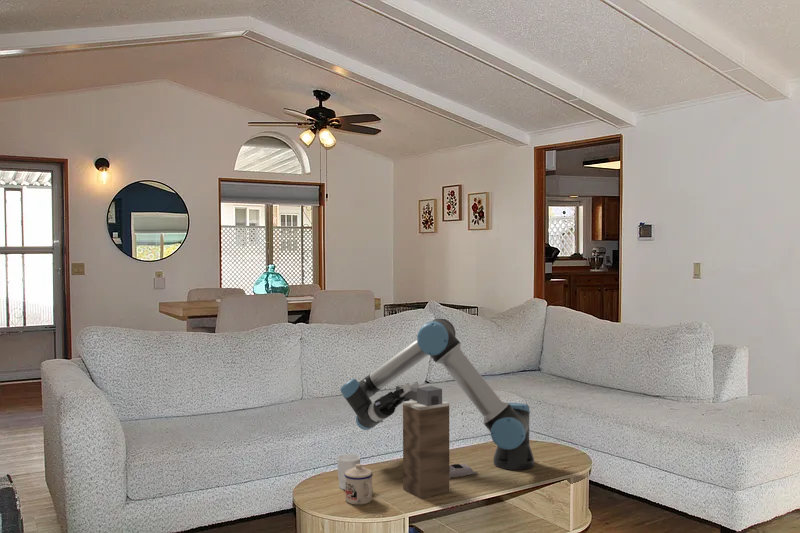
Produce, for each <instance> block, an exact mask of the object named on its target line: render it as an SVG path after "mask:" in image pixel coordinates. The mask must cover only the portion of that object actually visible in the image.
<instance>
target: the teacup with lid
mask: <svg viewBox="0 0 800 533" xmlns="http://www.w3.org/2000/svg"><path fill="white" fill-rule="evenodd" d="M373 475H374V474H373V472H372V470H371V469H370V468H365V467H364V466H362V464H361V463H360V464H356V465H355V467H354V468H352V469H349V470H347V471H346V472H345V490H344V491H345V492H344V493H345V496H344V498H345V501H346V502H347V503H348V504H350V505H357V506H358V505H365V504H369V503H370V502H371V501H372V500H373Z"/></svg>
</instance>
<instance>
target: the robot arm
mask: <svg viewBox="0 0 800 533" xmlns="http://www.w3.org/2000/svg"><path fill="white" fill-rule="evenodd" d="M456 333H457V332H456V329H455V326H454V325H453V323H452V322H450V320H447V319H445V318H436V319H434V320H433V319H432V320H431V321H428V322H426V323H424V324H423V325H422V326H421V327H420V329H419V330H418V331H417V336H416V339H415V340H414V341H413V342H411V343H410V344H408V345H407V346H406V347H405V348H403V349H402V350H400V351H399V352H397V353H396V354H395V355H394V356H392V357H391V358H389V359H388V360H387V361H386V362H384V363H383V364H382V365H380V366H379V367H378V368H376V369H375V370H374V371H372V372H370V374H368V375H367V376H365V377H364V378H363V379H361V380H359V381H358V380H357V379H356V378H352V379H350V380H349V381H347V382H346V383H344V385H342V386H341V387H340V393H341V394H342V396H343V398H344V399H345V400H346V402H347V404H349V406H350V407H351V409H352V411H353V412H354V413H355V415H356V417H355V423H356V425H357V427H358V428H360V429H361V430H363V431H369V430H370V429H373V428H375V427H376V426H377V425H378V424H380V423H383V422H384V420H386V419H387V418H389V417H390V416H391V415H393V414H395V411H396V409H397V407H398V406H399V405H401V404H403V402H405V401H411V400H412V399H409V398H406V397H403V396H404V395H405V394H407V393H408V392H410V391H411V388H415V389H417V388H421V387H420V384H419V381H415V382H414V383H413V384H411V385H410V382H408V383H405V384H403V385H404V386H403V387H401V388H400V389H399V390H396V389H395V390H394V391H389V392H388V393H386V394H385V395H382V396H380V397H378V398H377V399H376V400H374V401H373V402H372V400H371V397H373V396H374V395H376V394H377V393H378V392H380V391H381V390H382V389H383V388H385V387H386V386H388V385H389V384H391V382H393V381H395V380H396V379H397V378H399V377H401V375H404V373H406V372H407V371H409V370H410V369H411V368H413V367H414V366H415V365H417V364H418V363H420V362H421V361H422V360H424V359H425V358H427V357H428V356H430V358H432V360H433V362H434V363H435V364H440V365H442V366H443V367H444V368H445V370H446V371H447V372H448V373H449V375H450V376H451V377H452V379H453V380H454V381H455V382H456V384H457V385H458V386H459V387H460V389H461V390H462V391H463V393H464V394H465V395H466V397H467V398H468V399H469V400H470V402H472V404H473V405H474V407H475V408H476V409H477V410H478V412H479V413H480V415H482V417H483V425H484V426H485V427H486V428H487V430H488V431H489V433H490V437H491V440H492V441H493V443H494V444H495V445H496V449H495V452H494V454H493V465H494V466H496V467H497V468H501V469H504V470H511V471H513V470H514V471H521V470H528V469H531V468H533V467H534V466H535V458H534V454H533V451H532V448H531V445H530V444H531V443H530V414H531V412H530V405H528V404H527V403H521V402H505V401H502V400H501V399H500V397H499V396H498V395H497V393H496V392H495V391H494V389H492V387H491V386H490V385H489V384H488V382H487V381H486V379H484V377H483V376H482V375H481V374H480V372H479V371H478V369H477V368H476V367H475V366H474V365H473V363H472V362H471V361H470V360H469V359H468V357H467V356H466V354H465V353H464V352H463V351H462V350H461V344H462V343H461V342H460V340H458V338H457V337H456ZM410 387H411V388H410Z"/></svg>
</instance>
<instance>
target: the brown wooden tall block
mask: <svg viewBox="0 0 800 533" xmlns="http://www.w3.org/2000/svg"><path fill="white" fill-rule="evenodd" d="M449 466H450V402H449V401H445V400H442V404H438V405H432V406H425V405H422V404H419V403H417V401H415V400H412V399H411V400H409V401H405V402H402V476H403V477H402V482H403V483H402V490H403V491H404V492H406V493H408V494H411V495H412V496H414V497H416V498H418V499H420V500H421V499H426V498H429V497H433V496H437V495H441V494H445V493H449V492H450V478H449Z"/></svg>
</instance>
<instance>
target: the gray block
mask: <svg viewBox="0 0 800 533" xmlns="http://www.w3.org/2000/svg"><path fill="white" fill-rule="evenodd" d="M404 385H405V384H401V385H396V386H395V391H396V390H399V389H400V388H401V387H403V386H404ZM410 388H411V387H410ZM403 397H406V398H409V399H411V400H415V401H417V403H419V404H422V405H425V406H432V405H438V404H442V401H443V388H440V387H436V386H434V385H433V386H432V385H430V386H421V387H420V388H417V389H415V388H411V391H410V392H408V393H407V394H405V395H404V396H403Z"/></svg>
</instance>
